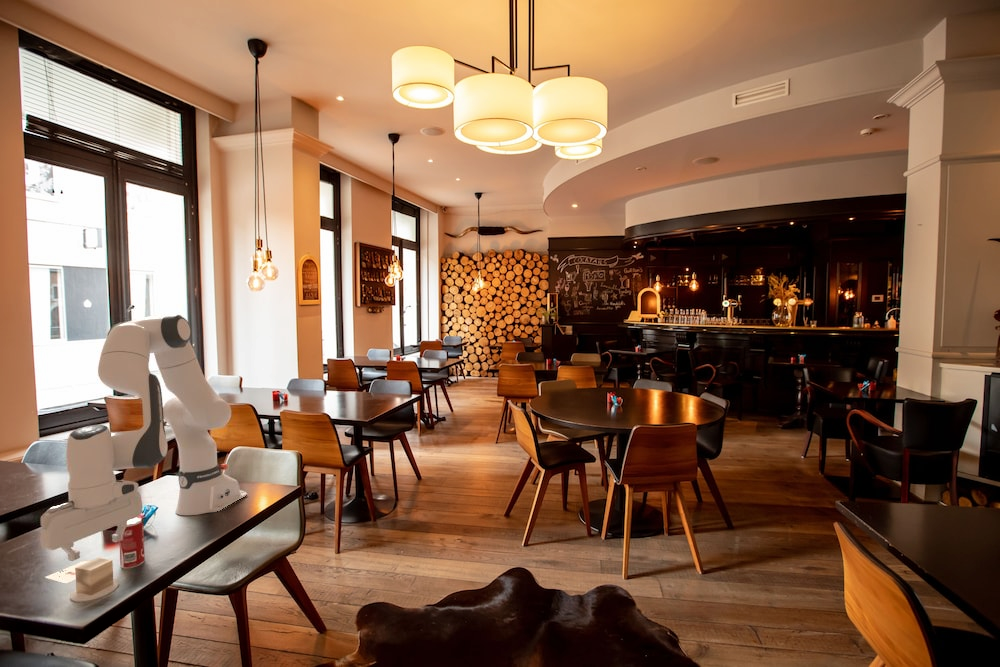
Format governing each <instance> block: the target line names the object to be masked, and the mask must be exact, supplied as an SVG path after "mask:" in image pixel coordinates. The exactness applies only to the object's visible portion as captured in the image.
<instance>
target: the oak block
mask: <svg viewBox="0 0 1000 667" xmlns="http://www.w3.org/2000/svg"><path fill="white" fill-rule="evenodd" d="M113 565H114V564H113V559H109V558H102V557H96V558H94V559H92V560H89V561H88V562H87V563H85V564H82V565H80V566H78V567H76V568H75V574H76V580H75V589H76V592H78V593H82V594H87V595H93V594H95V593H97V592H99V591H101V590H103V589H105V588H107V587H109V586H111V585H113V579H114V568H113Z"/></svg>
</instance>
